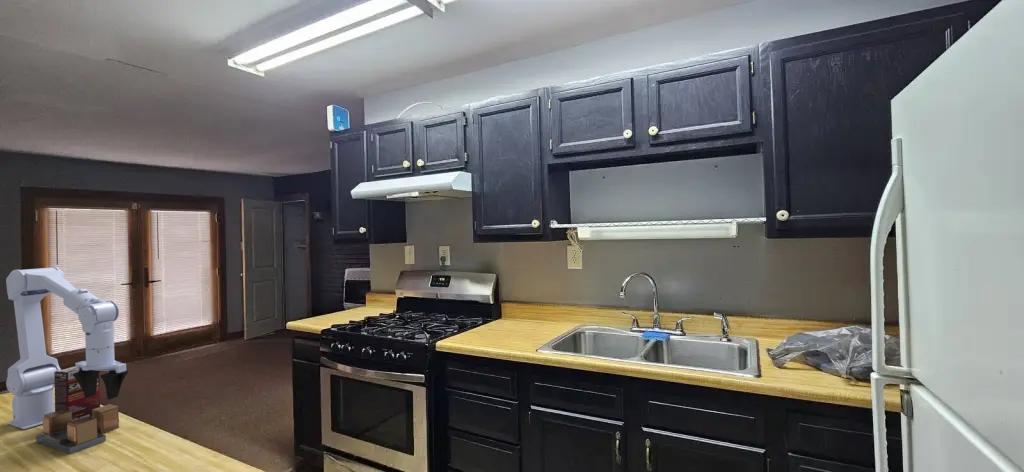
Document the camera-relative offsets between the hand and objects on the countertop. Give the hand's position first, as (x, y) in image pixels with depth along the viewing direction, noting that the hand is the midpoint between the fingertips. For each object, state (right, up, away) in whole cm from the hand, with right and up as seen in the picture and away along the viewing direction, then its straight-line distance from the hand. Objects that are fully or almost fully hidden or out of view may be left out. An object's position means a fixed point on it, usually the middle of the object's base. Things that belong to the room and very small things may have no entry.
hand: (101, 397), depth 123 cm
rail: (-3, -10, -5) cm, 11 cm away
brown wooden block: (0, -10, +2) cm, 10 cm away
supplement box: (-12, -10, +6) cm, 16 cm away
